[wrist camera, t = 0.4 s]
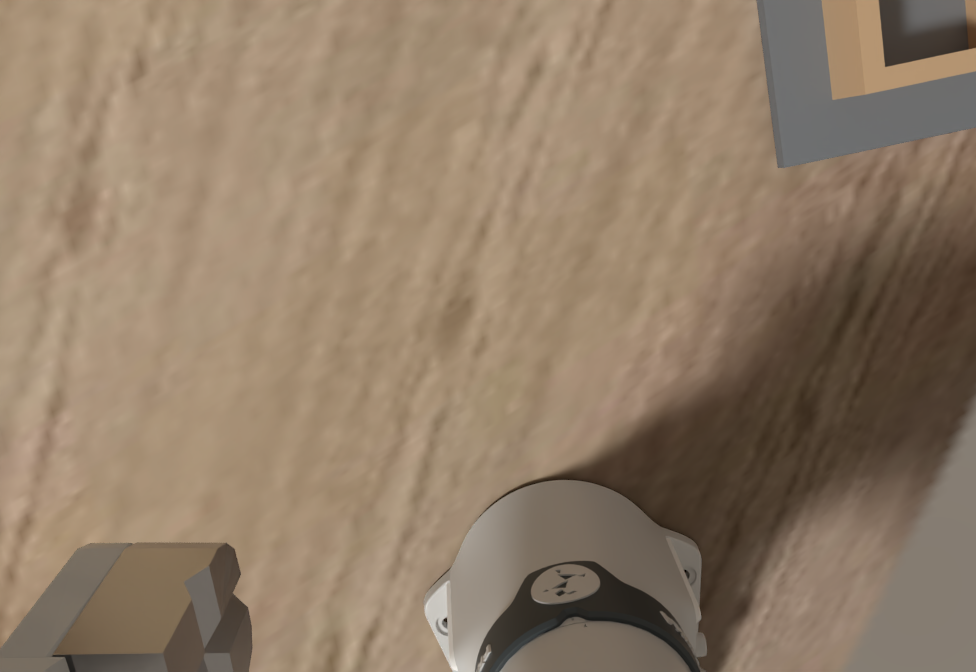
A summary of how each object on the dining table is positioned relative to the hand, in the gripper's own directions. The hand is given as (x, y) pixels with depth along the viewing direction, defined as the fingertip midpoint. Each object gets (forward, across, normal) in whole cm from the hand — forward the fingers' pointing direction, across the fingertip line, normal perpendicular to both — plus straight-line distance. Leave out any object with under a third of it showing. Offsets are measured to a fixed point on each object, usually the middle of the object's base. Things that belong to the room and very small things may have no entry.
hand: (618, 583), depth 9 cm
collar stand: (+45, +22, +4) cm, 50 cm away
